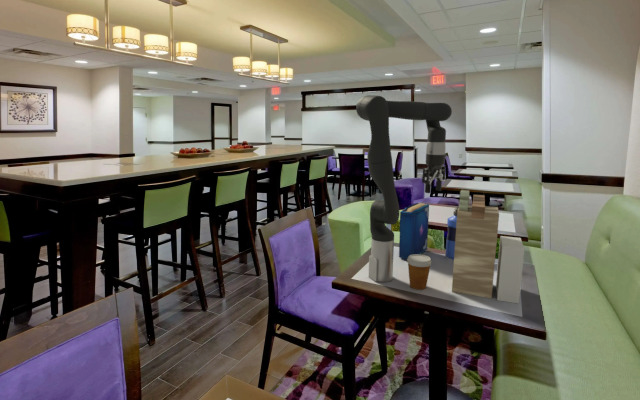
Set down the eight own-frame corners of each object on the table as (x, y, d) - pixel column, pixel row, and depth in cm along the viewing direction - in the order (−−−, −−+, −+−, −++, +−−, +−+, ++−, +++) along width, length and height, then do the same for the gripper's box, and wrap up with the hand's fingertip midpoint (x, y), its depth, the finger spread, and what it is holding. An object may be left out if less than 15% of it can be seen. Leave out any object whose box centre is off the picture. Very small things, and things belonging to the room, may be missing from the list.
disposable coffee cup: (415, 293, 142) (417, 263, 140) (400, 284, 150) (402, 255, 148) (435, 289, 145) (437, 260, 143) (419, 280, 154) (421, 252, 152)
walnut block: (484, 219, 125) (484, 207, 124) (471, 218, 126) (472, 206, 125) (483, 205, 148) (484, 195, 147) (472, 204, 150) (473, 194, 149)
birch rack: (491, 298, 138) (500, 195, 130) (451, 291, 143) (458, 192, 136) (490, 284, 150) (499, 189, 143) (454, 278, 156) (460, 187, 148)
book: (410, 262, 175) (412, 210, 170) (396, 259, 179) (398, 208, 175) (427, 250, 192) (430, 203, 187) (414, 248, 196) (416, 201, 192)
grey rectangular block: (518, 303, 133) (524, 249, 129) (497, 300, 136) (502, 246, 132) (515, 287, 147) (520, 237, 143) (495, 284, 149) (500, 235, 146)
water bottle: (441, 256, 183) (444, 207, 179) (451, 252, 190) (454, 204, 185) (459, 261, 177) (462, 210, 172) (468, 256, 183) (472, 207, 178)
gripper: (434, 154, 145) (432, 195, 148) (452, 152, 154) (449, 190, 158) (418, 153, 150) (415, 192, 154) (436, 151, 160) (434, 188, 163)
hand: (433, 191), depth 156 cm, fingers open, 8 cm apart
